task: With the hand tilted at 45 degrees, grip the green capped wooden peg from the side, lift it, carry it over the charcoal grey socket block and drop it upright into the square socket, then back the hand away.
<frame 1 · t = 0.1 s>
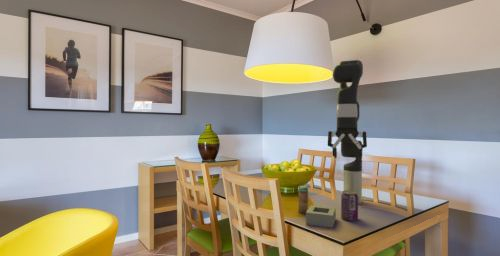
hand: (346, 158, 108), 29 cm above the table, tool pointing down, fingers open, 8 cm apart
socket block: (321, 221, 122), on the table
green capped wooden peg: (303, 211, 135), on the table
beverage can: (349, 219, 125), on the table
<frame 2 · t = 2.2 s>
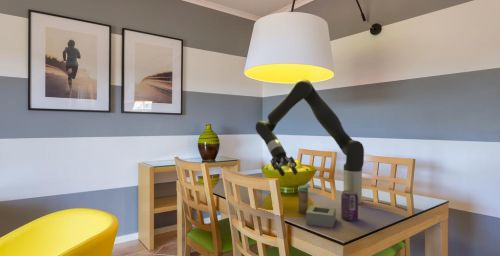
hand: (290, 174, 143), 16 cm above the table, tool tilted 45°, fingers open, 8 cm apart
nothing on the table moved.
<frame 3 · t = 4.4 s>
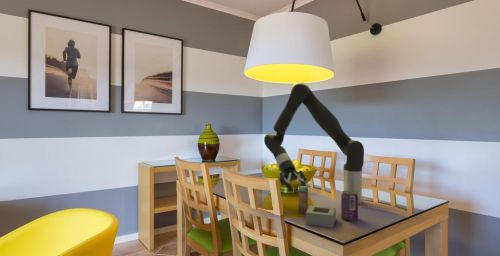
hand: (298, 190, 138), 10 cm above the table, tool tilted 45°, fingers open, 8 cm apart
nothing on the table moved.
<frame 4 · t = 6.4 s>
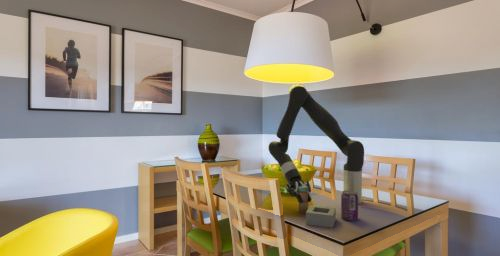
hand: (305, 201, 133), 5 cm above the table, tool tilted 45°, fingers closed on green capped wooden peg, 4 cm apart
green capped wooden peg: (303, 211, 135), on the table, touching gripper
everything else where it was.
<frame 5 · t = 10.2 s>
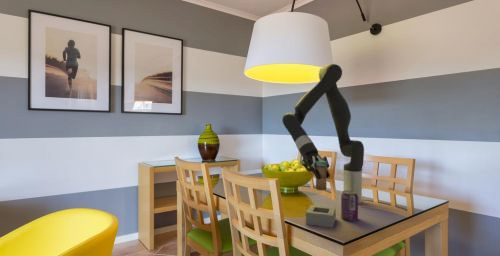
hand: (324, 177, 120), 19 cm above the table, tool tilted 45°, fingers closed on green capped wooden peg, 4 cm apart
green capped wooden peg: (321, 189, 121), point 14 cm above the table, touching gripper
everything else where it was.
when the fingers open (8 cm above the table, at t = 13.9 s): green capped wooden peg drops 2 cm, resting in socket block.
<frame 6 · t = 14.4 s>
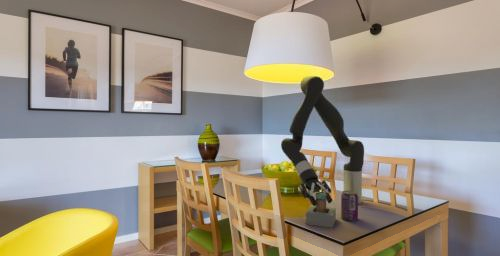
hand: (323, 203, 120), 8 cm above the table, tool tilted 45°, fingers open, 8 cm apart
green capped wooden peg: (320, 221, 122), resting in socket block
everything else where it was.
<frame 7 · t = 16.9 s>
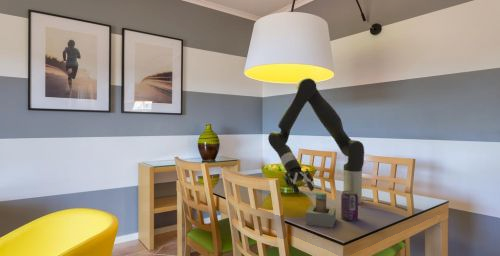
hand: (305, 191, 131), 11 cm above the table, tool tilted 45°, fingers open, 8 cm apart
nothing on the table moved.
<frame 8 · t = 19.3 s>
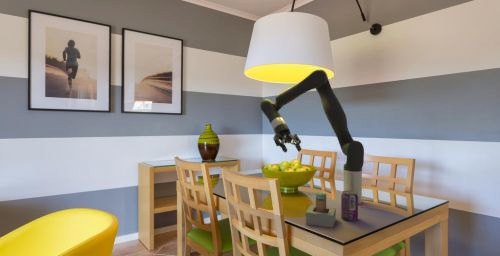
hand: (293, 151, 140), 29 cm above the table, tool tilted 45°, fingers open, 8 cm apart
nothing on the table moved.
at the end: green capped wooden peg 0.1 cm off-centre on the socket block, point 0.0 cm above the socket block's base; green capped wooden peg tilted 0°; the gripper is holding nothing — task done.
